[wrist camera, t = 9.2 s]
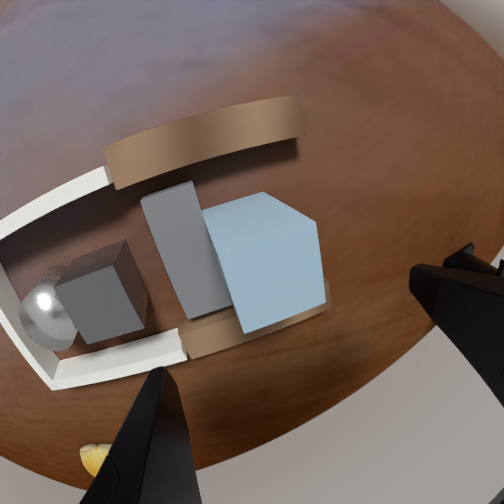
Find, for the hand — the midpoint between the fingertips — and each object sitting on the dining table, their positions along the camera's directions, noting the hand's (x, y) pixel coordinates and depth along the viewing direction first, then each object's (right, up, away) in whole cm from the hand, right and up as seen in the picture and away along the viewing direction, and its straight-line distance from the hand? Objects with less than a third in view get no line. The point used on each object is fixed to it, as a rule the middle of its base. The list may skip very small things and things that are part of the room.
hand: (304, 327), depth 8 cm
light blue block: (-4, +3, +9) cm, 10 cm away
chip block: (-11, +1, +8) cm, 13 cm away
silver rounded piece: (-15, 0, +7) cm, 16 cm away
